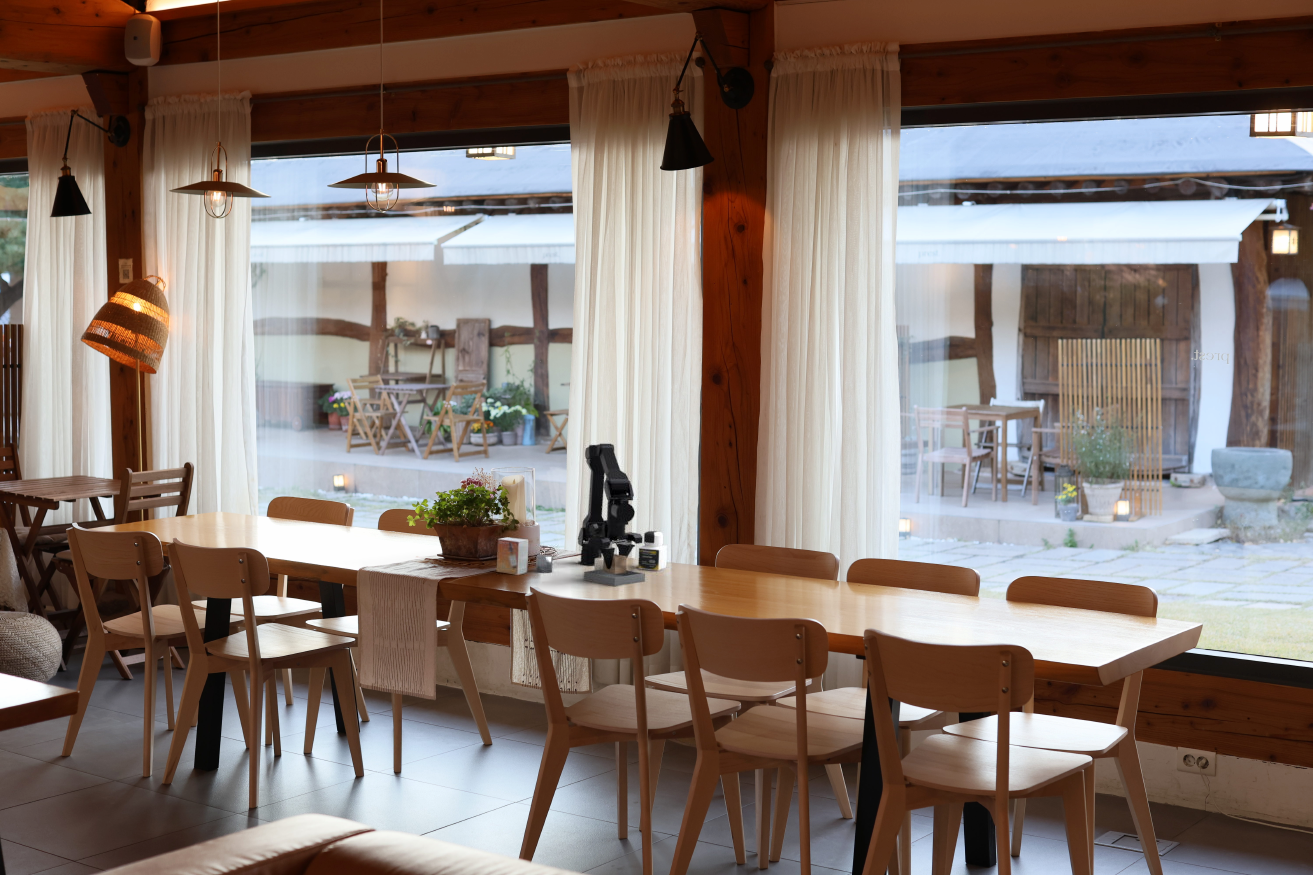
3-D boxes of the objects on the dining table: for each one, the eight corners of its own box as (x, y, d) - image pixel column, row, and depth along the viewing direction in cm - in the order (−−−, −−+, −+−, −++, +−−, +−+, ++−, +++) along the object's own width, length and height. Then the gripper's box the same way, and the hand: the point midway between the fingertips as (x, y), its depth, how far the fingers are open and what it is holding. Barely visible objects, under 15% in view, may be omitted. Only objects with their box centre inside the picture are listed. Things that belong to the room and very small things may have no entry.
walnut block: (614, 569, 398) (614, 553, 398) (626, 572, 395) (626, 556, 395) (603, 571, 395) (603, 555, 394) (614, 574, 391) (615, 557, 391)
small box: (496, 572, 402) (497, 538, 401) (506, 569, 407) (507, 536, 406) (517, 575, 398) (518, 541, 398) (527, 572, 403) (528, 539, 402)
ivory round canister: (602, 572, 408) (602, 557, 407) (613, 575, 404) (614, 559, 404) (591, 574, 404) (591, 558, 404) (602, 576, 401) (602, 560, 400)
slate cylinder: (544, 569, 410) (544, 554, 409) (555, 571, 406) (555, 556, 406) (532, 571, 406) (533, 555, 405) (543, 573, 402) (544, 557, 402)
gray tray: (613, 574, 404) (614, 567, 404) (644, 581, 396) (644, 573, 395) (583, 579, 395) (584, 571, 394) (614, 586, 386) (615, 578, 386)
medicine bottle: (637, 568, 416) (639, 532, 415) (646, 565, 423) (647, 529, 422) (658, 571, 414) (659, 534, 413) (666, 567, 420) (667, 531, 419)
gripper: (618, 512, 406) (616, 561, 407) (576, 516, 392) (574, 567, 393) (644, 516, 399) (642, 566, 400) (602, 521, 385) (600, 572, 386)
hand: (614, 568), depth 395 cm, fingers closed on walnut block, 5 cm apart
